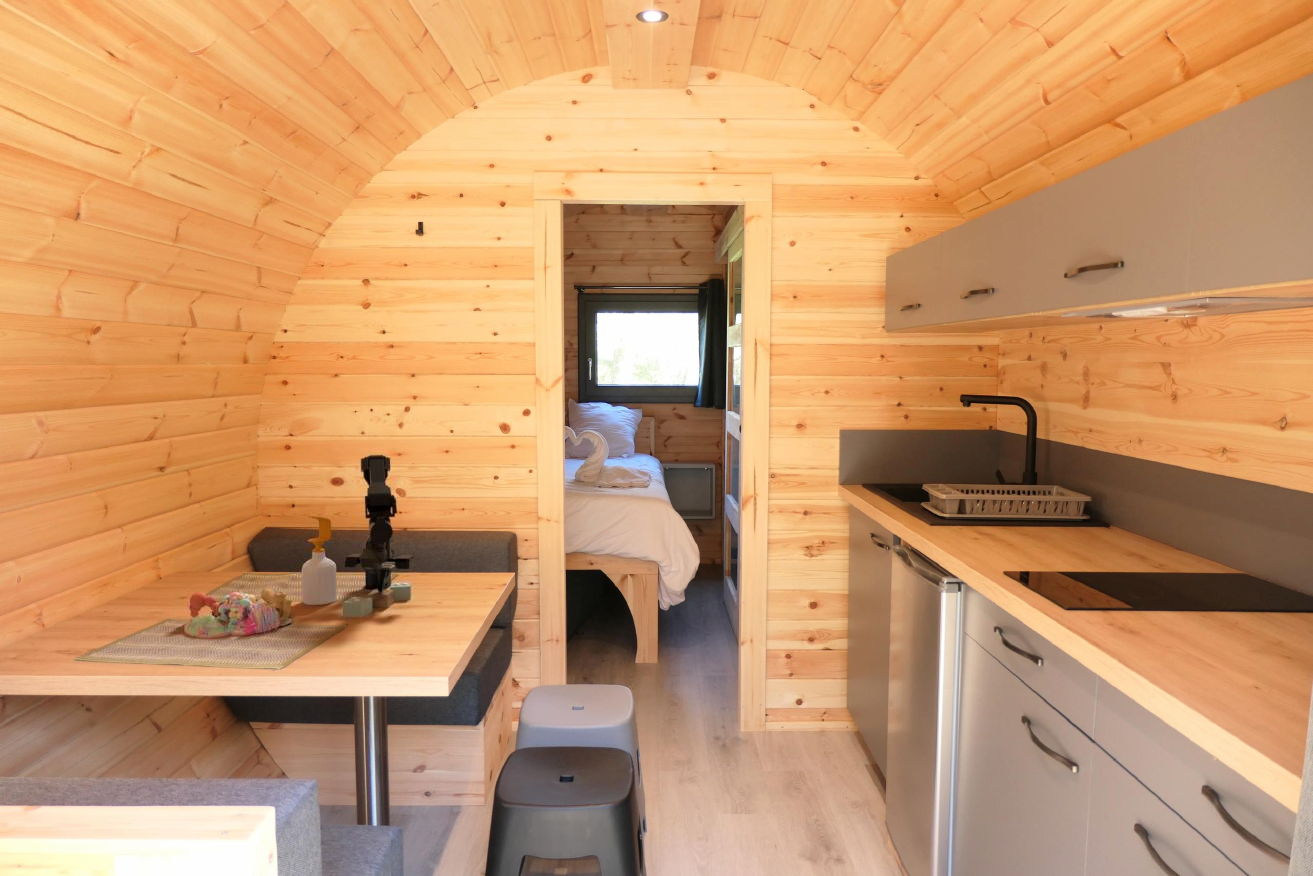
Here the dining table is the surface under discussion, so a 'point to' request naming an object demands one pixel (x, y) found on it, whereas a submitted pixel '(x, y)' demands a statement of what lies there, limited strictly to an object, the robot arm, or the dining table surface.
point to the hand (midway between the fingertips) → (380, 591)
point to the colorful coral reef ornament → (238, 614)
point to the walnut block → (382, 598)
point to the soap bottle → (319, 570)
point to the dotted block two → (401, 590)
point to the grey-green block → (357, 607)
